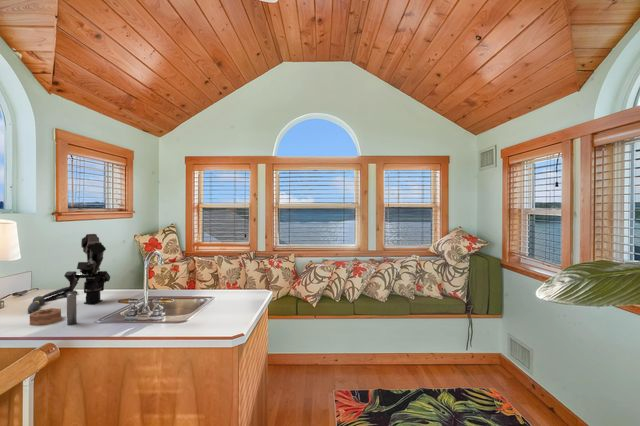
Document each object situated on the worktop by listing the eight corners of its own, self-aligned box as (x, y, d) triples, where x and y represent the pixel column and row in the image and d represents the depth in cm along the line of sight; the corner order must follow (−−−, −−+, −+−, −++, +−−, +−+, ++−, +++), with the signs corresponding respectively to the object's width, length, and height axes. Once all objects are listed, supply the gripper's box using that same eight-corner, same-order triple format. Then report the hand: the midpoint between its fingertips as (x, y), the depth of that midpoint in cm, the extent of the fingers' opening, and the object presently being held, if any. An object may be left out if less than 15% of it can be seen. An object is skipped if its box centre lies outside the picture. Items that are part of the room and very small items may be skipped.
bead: (47, 315, 161) (47, 307, 161) (66, 317, 160) (66, 309, 160) (23, 324, 151) (23, 315, 150) (44, 325, 149) (44, 317, 149)
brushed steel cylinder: (72, 322, 154) (71, 292, 153) (78, 322, 153) (78, 292, 153) (65, 324, 150) (64, 294, 150) (71, 325, 150) (71, 294, 149)
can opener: (70, 293, 200) (70, 284, 200) (78, 294, 198) (78, 285, 197) (37, 301, 183) (37, 291, 183) (45, 303, 181) (45, 293, 181)
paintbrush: (39, 313, 166) (38, 303, 166) (25, 314, 163) (25, 304, 163) (46, 302, 183) (46, 293, 182) (34, 303, 180) (34, 294, 180)
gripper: (66, 255, 162) (51, 283, 151) (107, 255, 164) (94, 282, 153) (76, 267, 170) (62, 295, 159) (115, 267, 172) (104, 294, 161)
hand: (80, 291), depth 158 cm, fingers open, 9 cm apart
